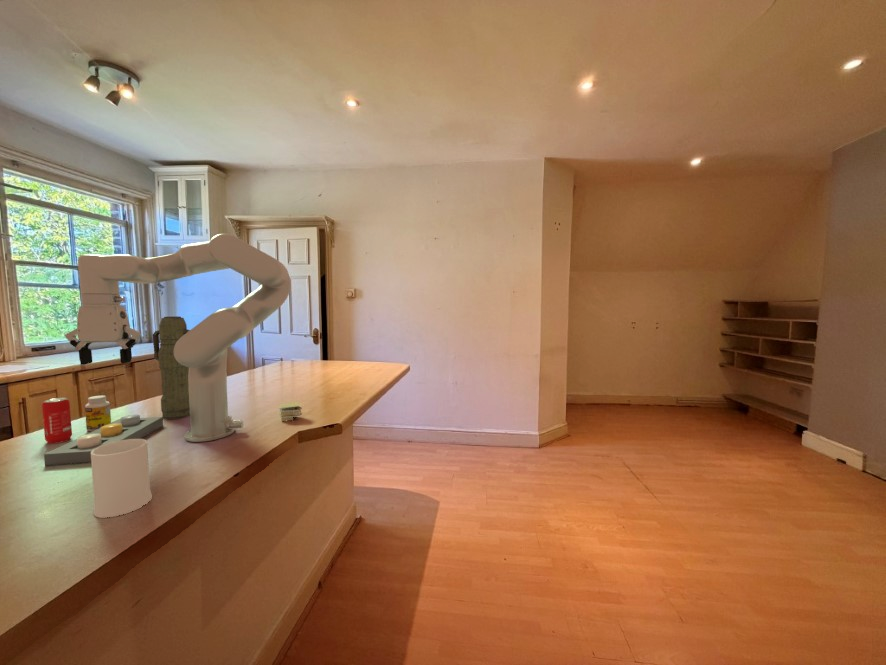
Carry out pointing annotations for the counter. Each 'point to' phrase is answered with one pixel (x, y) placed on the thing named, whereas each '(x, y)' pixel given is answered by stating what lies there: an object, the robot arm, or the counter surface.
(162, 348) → the thermos
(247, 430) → the counter surface
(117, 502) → the white oval container
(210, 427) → the robot arm
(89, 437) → the ivory button
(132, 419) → the slate button
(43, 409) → the beverage can
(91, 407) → the supplement bottle
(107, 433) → the amber button
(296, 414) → the stacked layers on plate
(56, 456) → the panel
